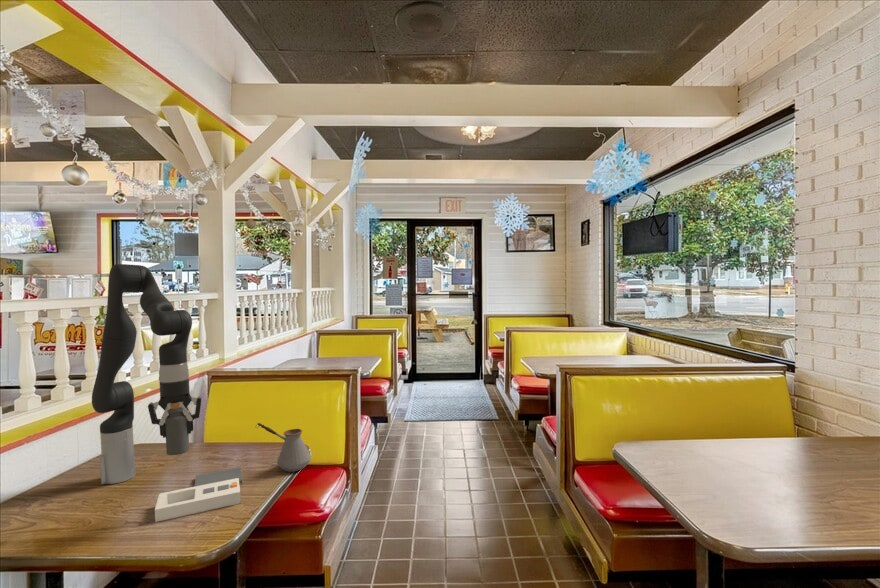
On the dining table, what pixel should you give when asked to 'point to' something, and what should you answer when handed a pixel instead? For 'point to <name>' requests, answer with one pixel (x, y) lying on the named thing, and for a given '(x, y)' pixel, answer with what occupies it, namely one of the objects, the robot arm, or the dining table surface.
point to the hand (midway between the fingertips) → (177, 434)
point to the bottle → (176, 431)
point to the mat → (218, 476)
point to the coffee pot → (291, 450)
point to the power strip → (197, 499)
